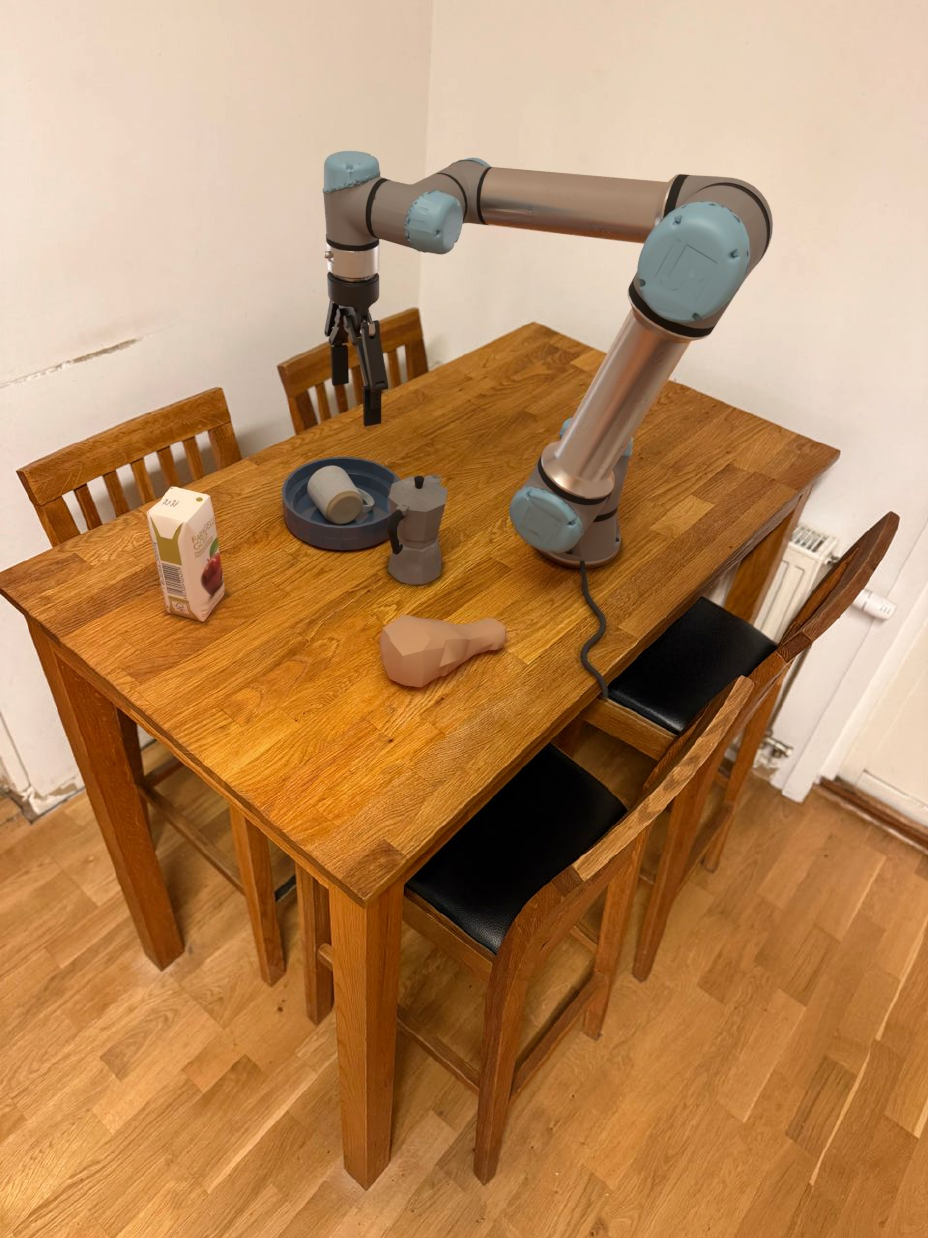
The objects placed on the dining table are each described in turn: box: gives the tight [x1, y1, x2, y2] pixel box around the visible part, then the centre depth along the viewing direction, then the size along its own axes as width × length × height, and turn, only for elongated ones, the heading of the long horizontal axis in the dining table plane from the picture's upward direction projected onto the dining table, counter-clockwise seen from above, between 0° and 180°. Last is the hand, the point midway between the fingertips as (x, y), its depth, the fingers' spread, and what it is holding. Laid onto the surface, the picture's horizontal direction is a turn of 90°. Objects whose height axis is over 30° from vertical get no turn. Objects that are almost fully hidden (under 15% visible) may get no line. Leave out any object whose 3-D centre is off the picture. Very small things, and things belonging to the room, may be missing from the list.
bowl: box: [281, 456, 401, 551], centre depth 153 cm, size 21×21×6 cm
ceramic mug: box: [307, 466, 374, 525], centre depth 152 cm, size 11×8×8 cm
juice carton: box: [146, 486, 225, 623], centre depth 130 cm, size 8×9×19 cm
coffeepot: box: [387, 473, 448, 586], centre depth 140 cm, size 15×9×18 cm, turn 153°
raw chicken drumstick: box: [378, 613, 507, 688], centre depth 129 cm, size 11×20×9 cm, turn 121°
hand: (355, 403), depth 142 cm, fingers open, 13 cm apart
